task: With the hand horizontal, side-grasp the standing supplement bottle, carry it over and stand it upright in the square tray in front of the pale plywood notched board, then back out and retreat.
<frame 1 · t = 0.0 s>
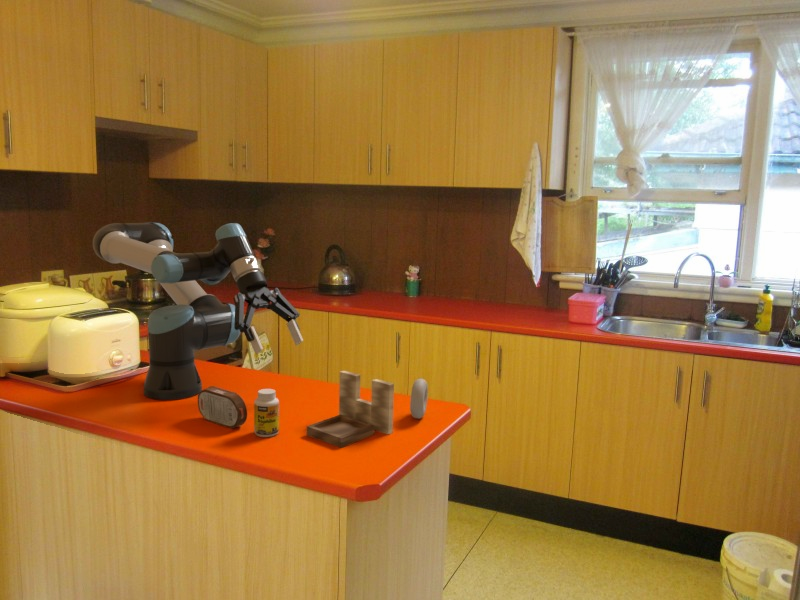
hand: (280, 347, 170), 15 cm above the countertop, tool tilted 35°, fingers open, 13 cm apart
square tray: (340, 434, 152), on the countertop
supplement bottle: (266, 434, 151), on the countertop
tin: (221, 424, 157), on the countertop
notched board: (365, 425, 158), on the countertop
donut: (418, 418, 165), on the countertop
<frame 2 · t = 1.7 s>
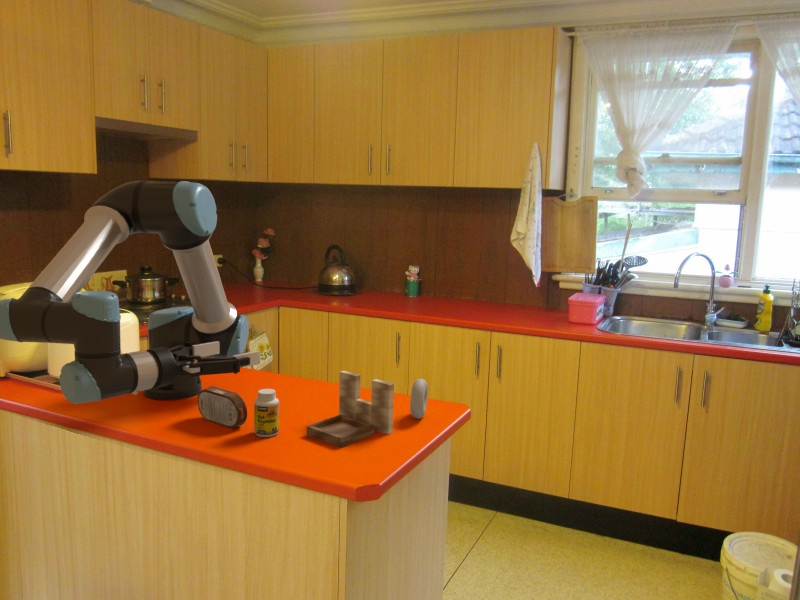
hand: (238, 352, 142), 21 cm above the countertop, tool horizontal, fingers open, 13 cm apart
nothing on the countertop moved.
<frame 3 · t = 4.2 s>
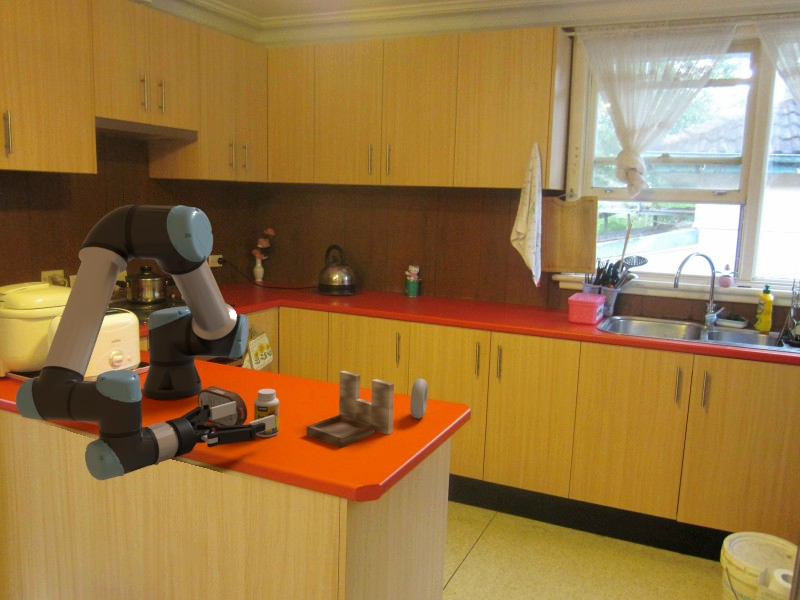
hand: (254, 413, 147), 6 cm above the countertop, tool horizontal, fingers open, 13 cm apart
tin: (221, 424, 157), on the countertop, touching gripper
everything else where it was.
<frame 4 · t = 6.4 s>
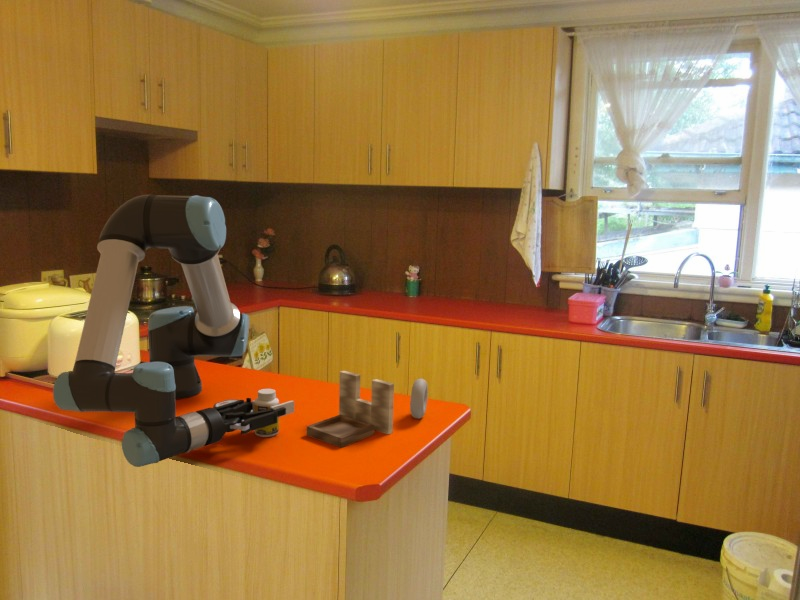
hand: (283, 403, 154), 6 cm above the countertop, tool horizontal, fingers closed on supplement bottle, 6 cm apart
supplement bottle: (266, 434, 151), on the countertop, touching gripper
tin: (226, 415, 158), point 2 cm above the countertop
everything else where it was.
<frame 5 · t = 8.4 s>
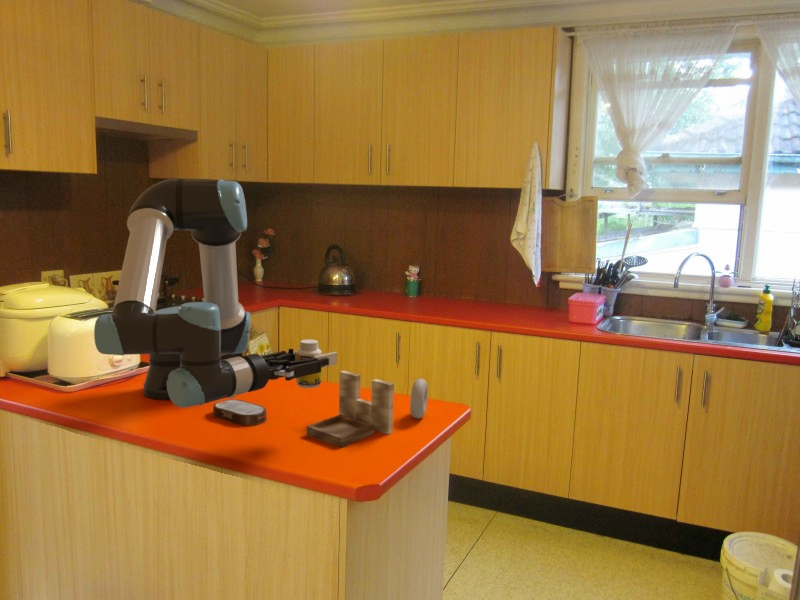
hand: (326, 355, 151), 18 cm above the countertop, tool horizontal, fingers closed on supplement bottle, 6 cm apart
supplement bottle: (308, 386, 148), point 12 cm above the countertop, touching gripper
everything else where it was.
when the fingers open (9 cm above the countertop, at t = 10.9 s): supplement bottle drops 1 cm, resting on square tray.
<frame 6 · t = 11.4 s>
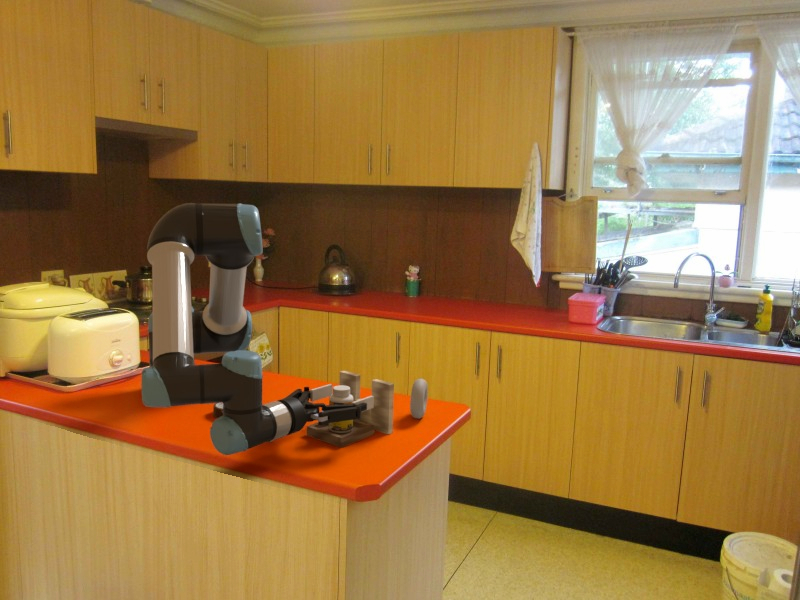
hand: (351, 395, 153), 9 cm above the countertop, tool horizontal, fingers open, 12 cm apart
supplement bottle: (340, 430, 151), point 1 cm above the countertop, touching square tray
everything else where it was.
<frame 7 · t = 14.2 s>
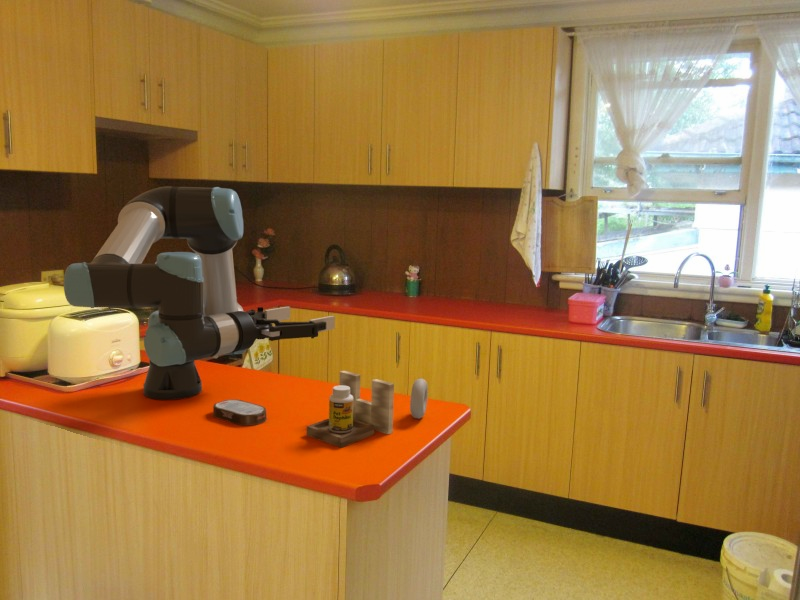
hand: (310, 317, 139), 29 cm above the countertop, tool horizontal, fingers open, 13 cm apart
nothing on the countertop moved.
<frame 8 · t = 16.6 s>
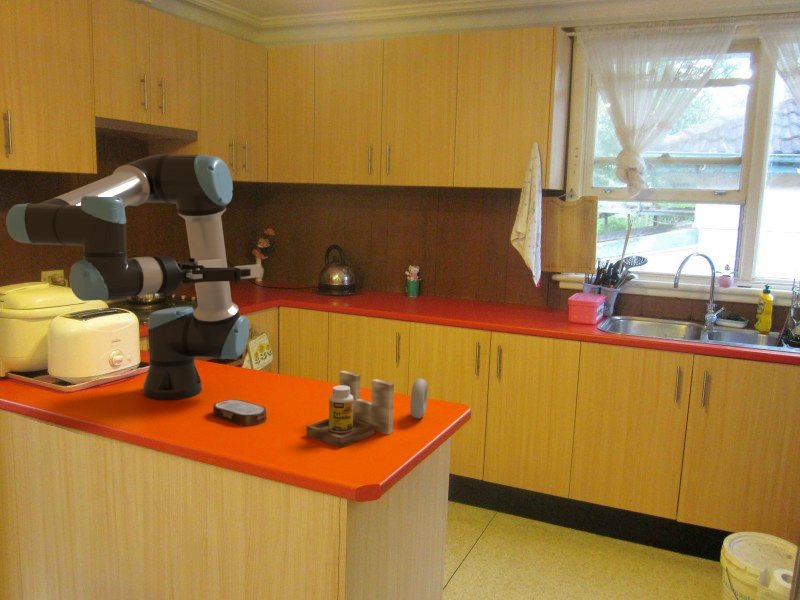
hand: (239, 267, 148), 38 cm above the countertop, tool horizontal, fingers open, 13 cm apart
nothing on the countertop moved.
at the end: supplement bottle inside the target area on the square tray (0.1 cm from its centre), point 1.0 cm above the square tray's base; supplement bottle tilted 0°; the gripper is holding nothing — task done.
